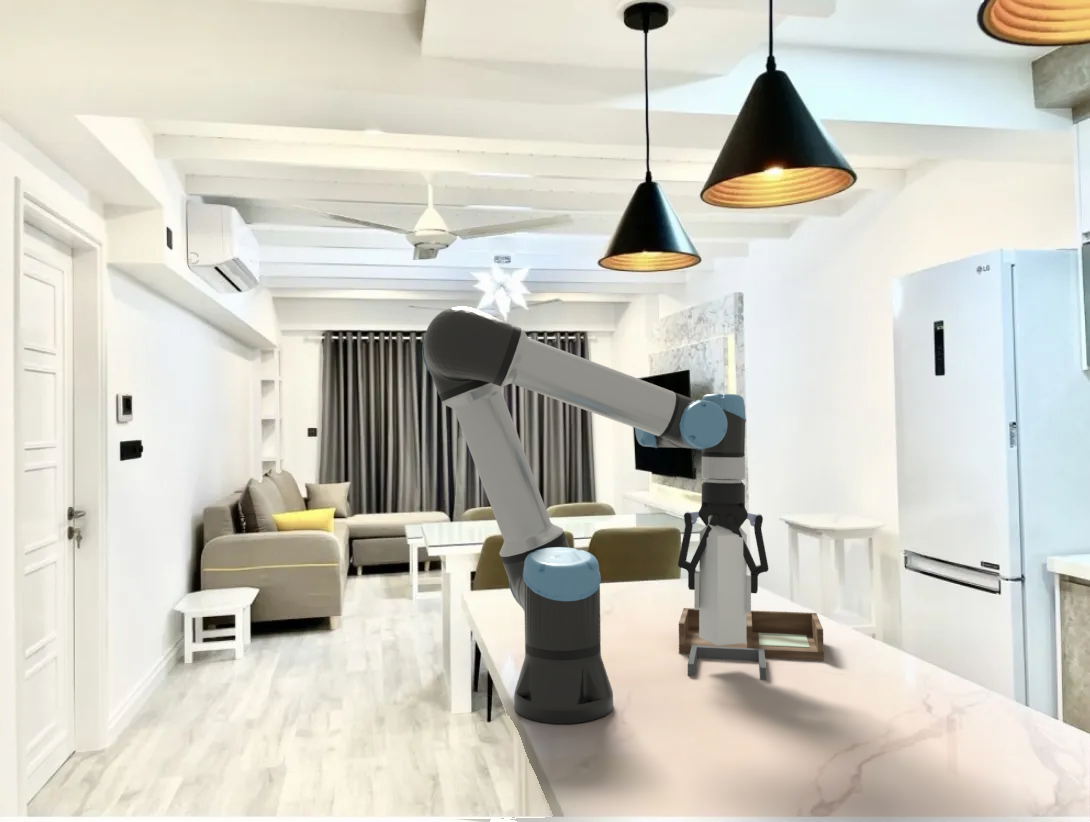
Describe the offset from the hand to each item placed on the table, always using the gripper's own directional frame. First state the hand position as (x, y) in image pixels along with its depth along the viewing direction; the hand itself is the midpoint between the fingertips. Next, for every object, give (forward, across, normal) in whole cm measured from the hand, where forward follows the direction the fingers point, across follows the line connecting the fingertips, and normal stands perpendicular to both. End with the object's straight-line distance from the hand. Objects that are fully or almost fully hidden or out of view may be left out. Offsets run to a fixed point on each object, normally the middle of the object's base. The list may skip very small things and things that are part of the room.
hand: (722, 609), depth 141 cm
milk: (+6, 0, 0) cm, 6 cm away
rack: (+10, -5, -15) cm, 19 cm away
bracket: (+10, -1, 0) cm, 10 cm away
